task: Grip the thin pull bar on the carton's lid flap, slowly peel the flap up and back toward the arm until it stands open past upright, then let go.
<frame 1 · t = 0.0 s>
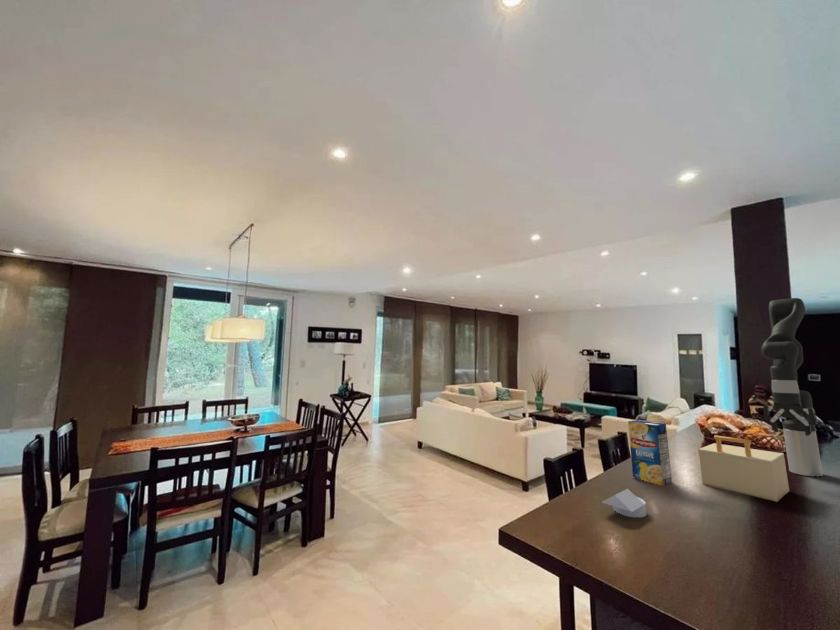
hand: (791, 433, 136), 17 cm above the breakfast bar, tool pointing down, fingers open, 8 cm apart
carton: (744, 487, 127), on the breakfast bar
blue cardboard box: (652, 480, 136), on the breakfast bar
lid flap: (739, 444, 129), point 15 cm above the breakfast bar, hinge at 0.0°
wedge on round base: (626, 513, 108), on the breakfast bar
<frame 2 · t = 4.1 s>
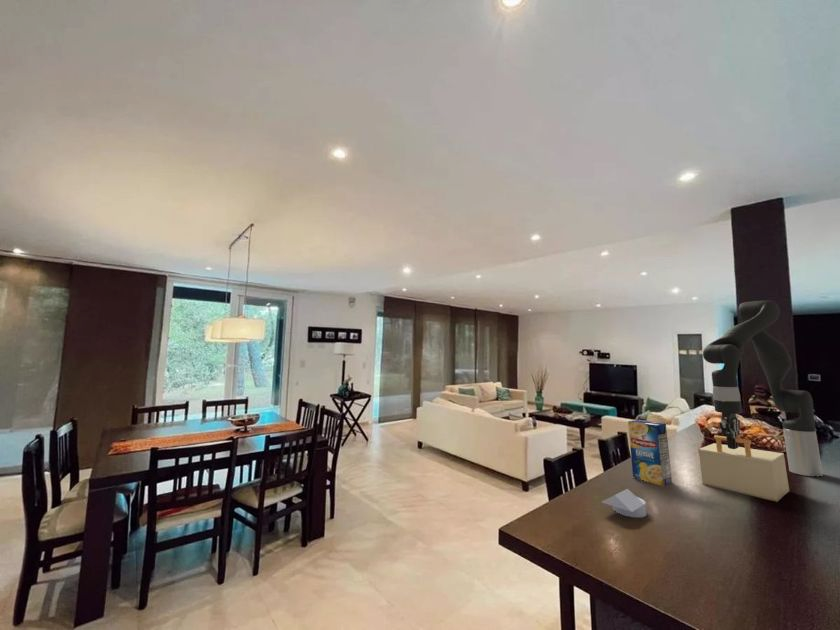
hand: (733, 448, 125), 15 cm above the breakfast bar, tool pointing down, fingers closed
lid flap: (739, 444, 129), point 15 cm above the breakfast bar, hinge at 0.0°, touching gripper
everything else where it was.
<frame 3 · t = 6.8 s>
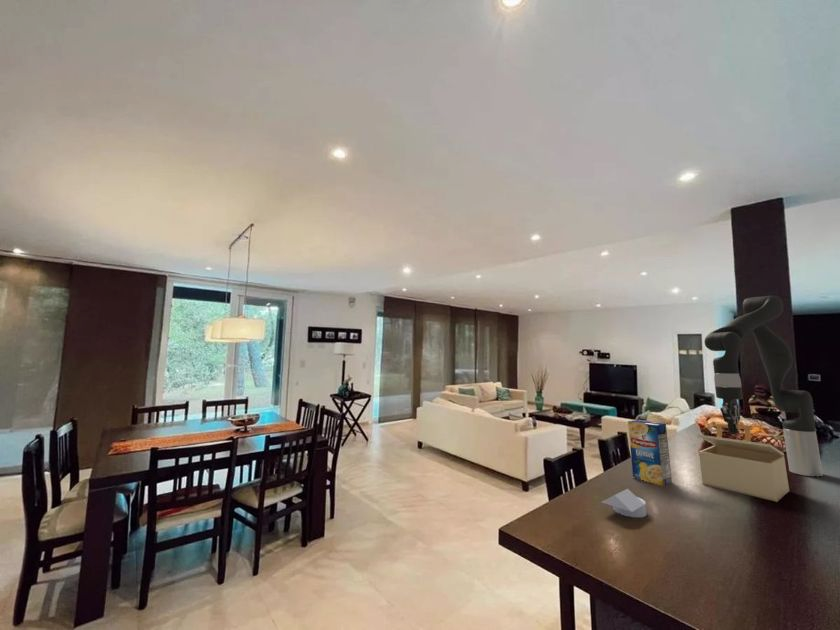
hand: (733, 433, 128), 20 cm above the breakfast bar, tool pointing down, fingers closed
lid flap: (739, 436, 130), point 18 cm above the breakfast bar, hinge at 19.3°, touching gripper
everything else where it was.
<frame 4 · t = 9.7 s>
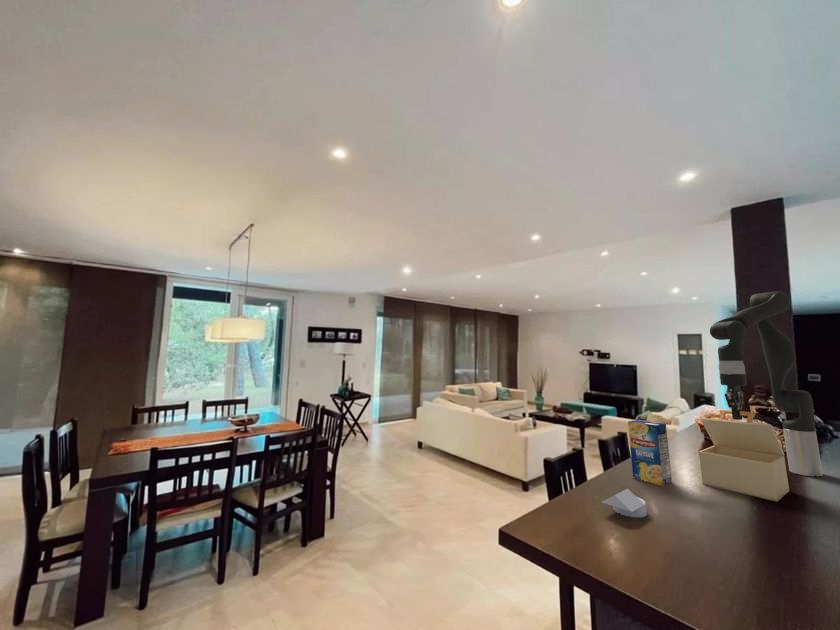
hand: (737, 419, 131), 24 cm above the breakfast bar, tool pointing down, fingers closed
lid flap: (741, 429, 132), point 20 cm above the breakfast bar, hinge at 45.9°, touching gripper
everything else where it was.
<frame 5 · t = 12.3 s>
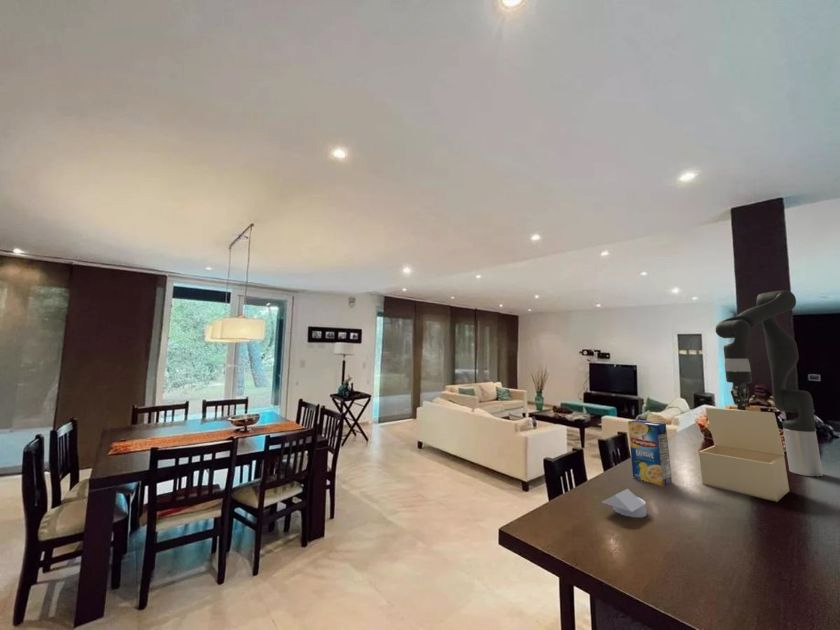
hand: (743, 415, 135), 25 cm above the breakfast bar, tool pointing down, fingers closed
lid flap: (744, 426, 134), point 21 cm above the breakfast bar, hinge at 71.8°, touching gripper
everything else where it was.
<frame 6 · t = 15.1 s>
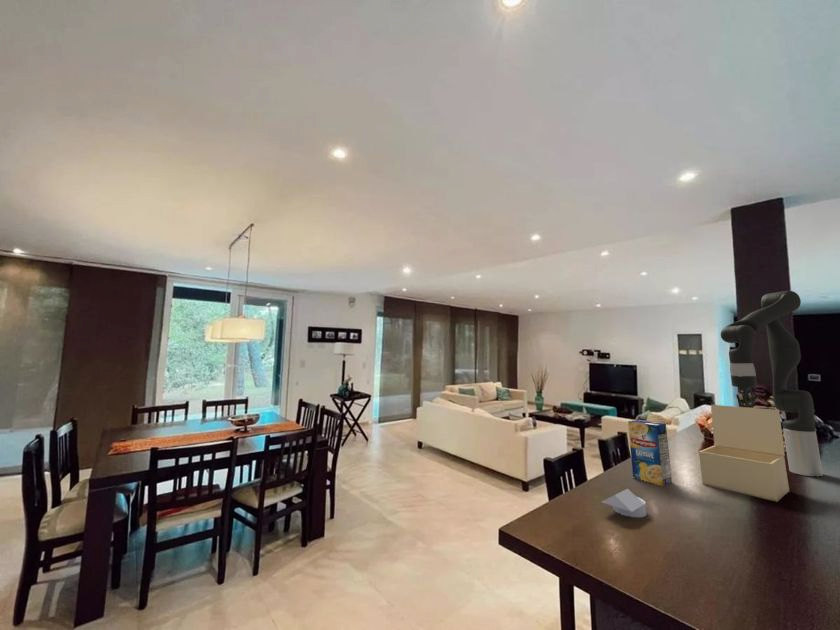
hand: (748, 418, 138), 23 cm above the breakfast bar, tool pointing down, fingers closed
lid flap: (747, 428, 136), point 20 cm above the breakfast bar, hinge at 94.9°
everything else where it was.
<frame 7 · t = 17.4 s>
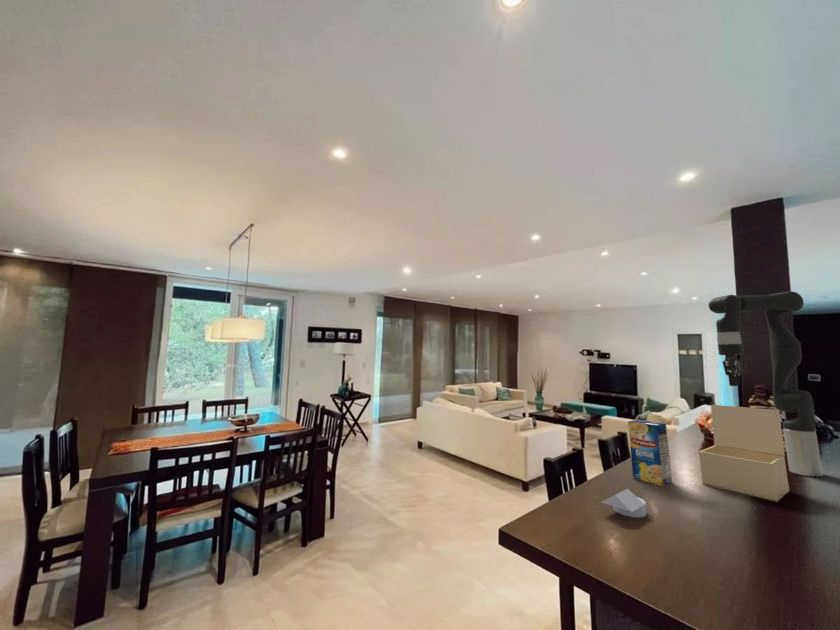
hand: (734, 385, 142), 36 cm above the breakfast bar, tool pointing down, fingers open, 3 cm apart
nothing on the breakfast bar moved.
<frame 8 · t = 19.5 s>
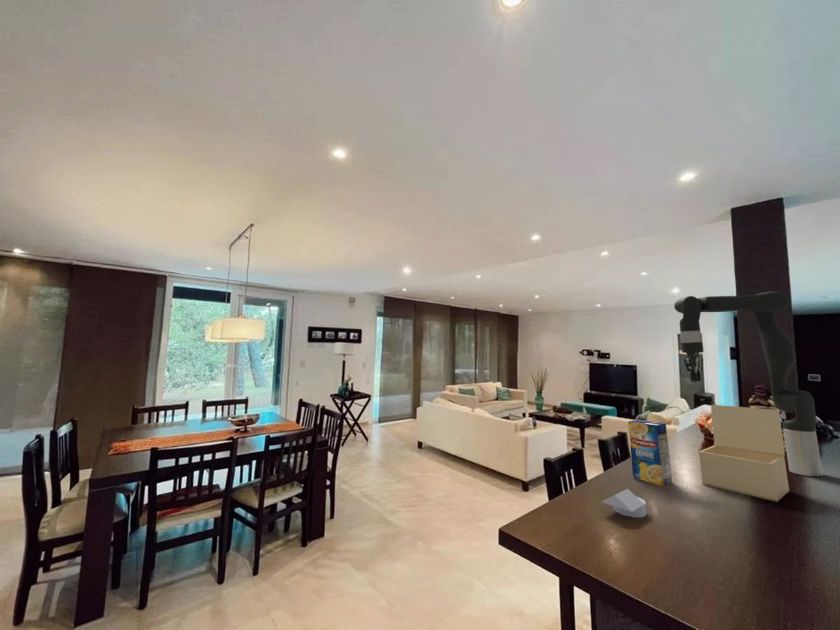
hand: (696, 381, 151), 37 cm above the breakfast bar, tool pointing down, fingers open, 3 cm apart
nothing on the breakfast bar moved.
at the end: lid flap at +95° (first picture: +0°); the gripper is holding nothing; blue cardboard box moved 0.2 cm from its start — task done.
